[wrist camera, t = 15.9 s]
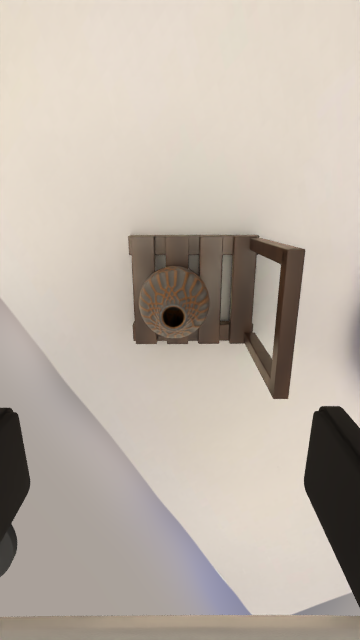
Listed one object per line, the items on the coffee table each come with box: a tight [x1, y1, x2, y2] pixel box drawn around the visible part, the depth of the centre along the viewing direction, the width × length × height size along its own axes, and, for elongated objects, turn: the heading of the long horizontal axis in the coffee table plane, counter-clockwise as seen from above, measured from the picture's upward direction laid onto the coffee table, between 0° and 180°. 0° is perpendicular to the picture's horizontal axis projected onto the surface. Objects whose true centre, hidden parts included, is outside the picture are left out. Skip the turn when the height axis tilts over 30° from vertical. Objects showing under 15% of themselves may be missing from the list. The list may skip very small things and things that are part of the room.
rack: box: [128, 235, 305, 399], centre depth 30 cm, size 14×12×15 cm
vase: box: [139, 266, 210, 338], centre depth 31 cm, size 7×7×9 cm
